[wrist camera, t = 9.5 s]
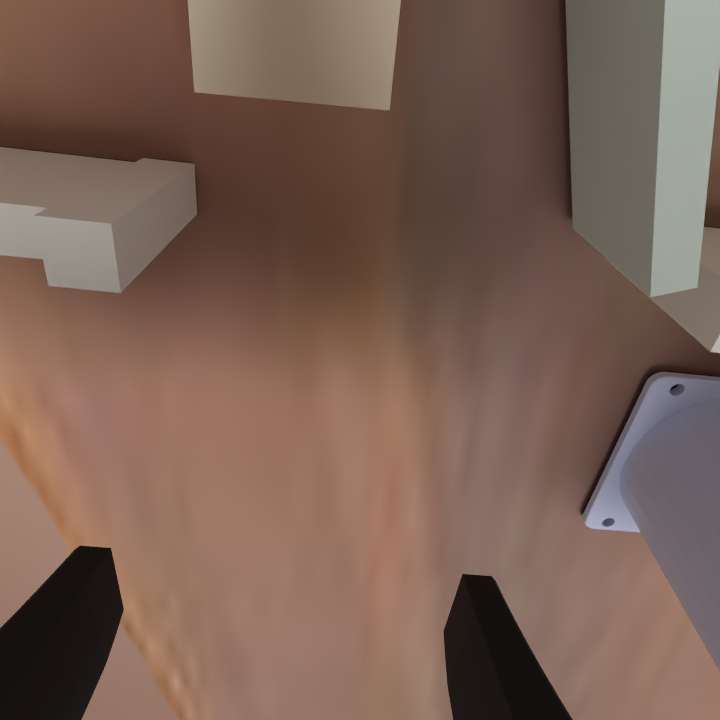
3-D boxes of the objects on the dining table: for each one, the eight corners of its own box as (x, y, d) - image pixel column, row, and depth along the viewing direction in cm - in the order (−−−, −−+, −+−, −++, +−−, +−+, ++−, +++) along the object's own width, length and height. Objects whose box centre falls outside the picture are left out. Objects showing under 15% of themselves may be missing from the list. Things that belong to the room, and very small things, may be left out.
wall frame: (806, 233, 16) (1007, 319, 11) (781, 277, 17) (959, 376, 12) (-70, 133, 15) (-295, 180, 10) (-55, 186, 16) (-255, 255, 11)
